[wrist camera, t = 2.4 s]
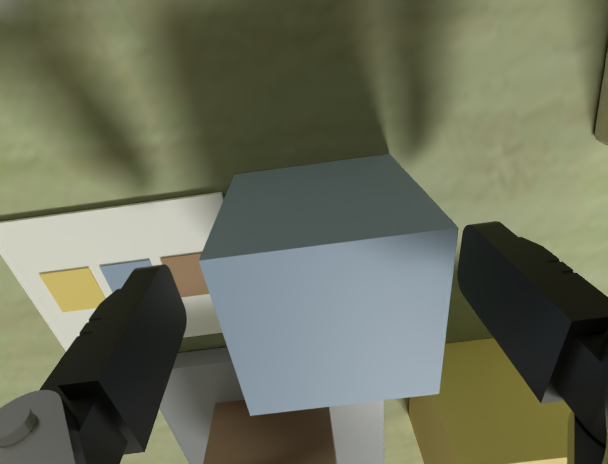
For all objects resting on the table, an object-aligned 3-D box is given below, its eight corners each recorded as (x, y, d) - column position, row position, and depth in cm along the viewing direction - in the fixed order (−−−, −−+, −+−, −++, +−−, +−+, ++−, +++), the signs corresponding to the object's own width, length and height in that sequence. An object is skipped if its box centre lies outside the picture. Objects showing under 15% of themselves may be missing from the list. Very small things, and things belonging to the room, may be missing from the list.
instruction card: (222, 191, 11) (220, 194, 11) (257, 325, 14) (256, 329, 14) (-16, 223, 11) (-21, 226, 11) (68, 349, 14) (65, 353, 14)
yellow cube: (523, 333, 15) (620, 451, 11) (504, 402, 17) (577, 522, 13) (411, 346, 15) (461, 468, 11) (408, 413, 18) (448, 536, 13)
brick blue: (388, 152, 11) (458, 227, 6) (388, 278, 13) (439, 393, 9) (234, 174, 11) (198, 260, 6) (262, 294, 13) (250, 415, 9)
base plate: (377, 328, 14) (382, 342, 14) (381, 456, 19) (384, 471, 18) (147, 356, 15) (140, 372, 14) (207, 475, 19) (204, 492, 19)
